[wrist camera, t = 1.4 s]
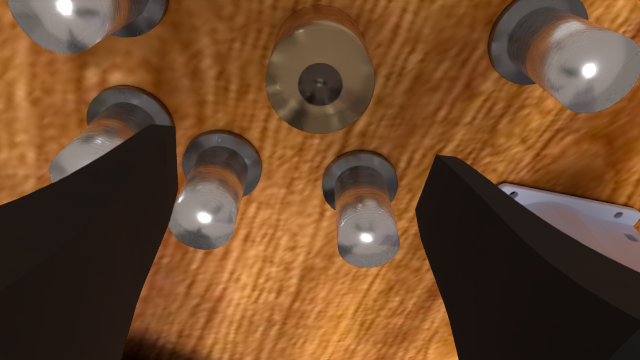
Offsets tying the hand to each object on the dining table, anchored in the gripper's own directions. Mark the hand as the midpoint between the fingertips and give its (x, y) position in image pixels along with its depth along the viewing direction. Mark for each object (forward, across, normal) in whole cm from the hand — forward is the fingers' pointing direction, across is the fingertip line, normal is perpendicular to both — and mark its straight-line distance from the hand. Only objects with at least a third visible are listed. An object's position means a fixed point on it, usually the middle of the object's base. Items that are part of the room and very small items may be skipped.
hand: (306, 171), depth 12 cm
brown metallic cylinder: (+11, -1, 0) cm, 11 cm away
